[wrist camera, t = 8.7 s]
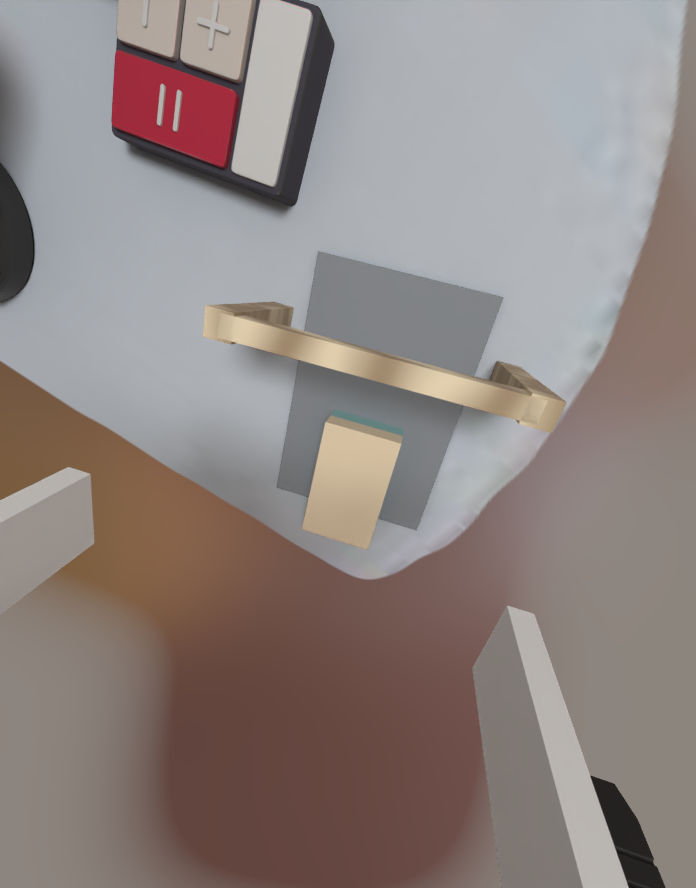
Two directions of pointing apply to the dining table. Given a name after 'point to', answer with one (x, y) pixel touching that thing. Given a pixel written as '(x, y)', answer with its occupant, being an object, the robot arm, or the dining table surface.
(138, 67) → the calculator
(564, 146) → the dining table surface
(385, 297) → the mat
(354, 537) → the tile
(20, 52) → the dining table surface
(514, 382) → the rail
